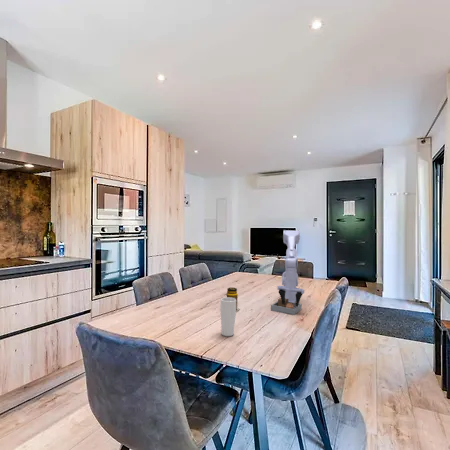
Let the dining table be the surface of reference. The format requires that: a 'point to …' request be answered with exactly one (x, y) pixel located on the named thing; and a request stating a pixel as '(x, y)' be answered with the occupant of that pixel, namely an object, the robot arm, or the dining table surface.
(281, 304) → the cube
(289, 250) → the robot arm
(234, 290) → the condiment
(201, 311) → the dining table surface
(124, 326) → the dining table surface
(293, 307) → the ball
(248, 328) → the dining table surface
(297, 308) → the tray
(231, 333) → the drinking glass
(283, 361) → the dining table surface
